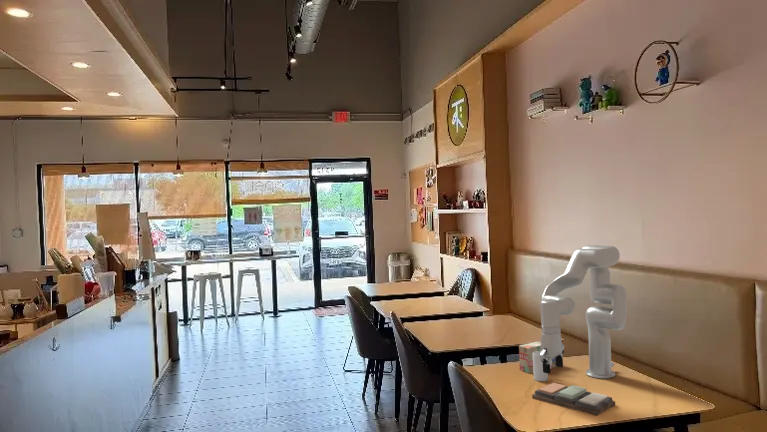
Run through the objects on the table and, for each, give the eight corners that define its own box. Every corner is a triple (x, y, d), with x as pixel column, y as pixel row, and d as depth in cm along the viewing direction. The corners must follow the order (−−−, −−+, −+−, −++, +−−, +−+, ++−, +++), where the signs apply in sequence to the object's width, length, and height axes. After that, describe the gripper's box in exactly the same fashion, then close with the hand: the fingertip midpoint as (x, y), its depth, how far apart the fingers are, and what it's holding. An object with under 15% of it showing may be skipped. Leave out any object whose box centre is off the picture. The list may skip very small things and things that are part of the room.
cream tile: (593, 396, 223) (593, 392, 223) (607, 399, 218) (607, 395, 218) (579, 403, 215) (579, 399, 215) (594, 407, 211) (594, 403, 211)
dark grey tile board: (551, 388, 239) (551, 382, 239) (615, 405, 218) (615, 397, 218) (532, 398, 229) (532, 390, 229) (596, 415, 208) (596, 408, 208)
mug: (540, 382, 248) (539, 356, 247) (530, 378, 254) (529, 352, 253) (557, 378, 252) (556, 352, 252) (547, 374, 258) (546, 349, 258)
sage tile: (572, 389, 229) (572, 385, 229) (586, 392, 225) (586, 388, 225) (558, 395, 222) (558, 392, 222) (572, 399, 218) (572, 395, 218)
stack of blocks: (552, 362, 277) (551, 338, 276) (561, 365, 271) (561, 341, 271) (519, 370, 267) (518, 345, 267) (528, 373, 261) (527, 347, 261)
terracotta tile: (553, 386, 236) (553, 382, 236) (566, 389, 232) (566, 385, 232) (539, 393, 229) (539, 389, 229) (552, 396, 224) (551, 392, 224)
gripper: (554, 323, 238) (556, 362, 239) (531, 332, 227) (533, 373, 228) (570, 326, 233) (572, 366, 233) (547, 335, 221) (550, 377, 222)
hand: (553, 369), depth 231 cm, fingers open, 9 cm apart
